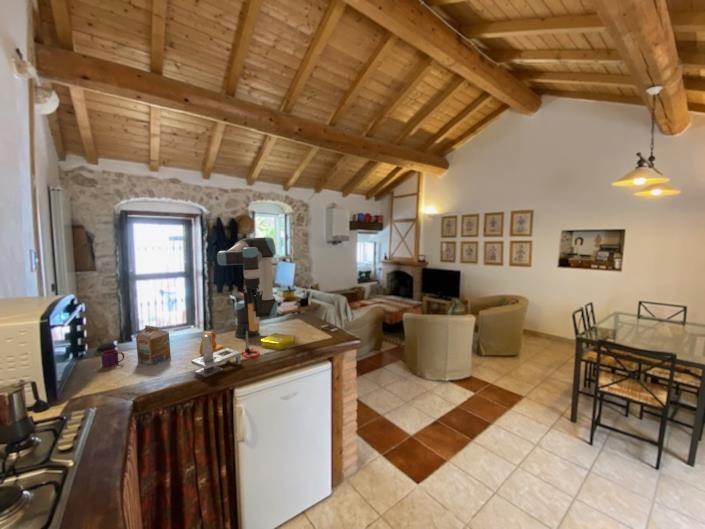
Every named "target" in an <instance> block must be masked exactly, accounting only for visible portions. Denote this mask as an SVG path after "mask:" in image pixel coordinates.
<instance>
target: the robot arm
mask: <svg viewBox="0 0 705 529" xmlns="http://www.w3.org/2000/svg"><path fill="white" fill-rule="evenodd" d="M276 254H277V250H276V244H275V240H274V239H273V238H272V237H268V236H267V237H266V236H265V237H246V238H242V239H241V240H238V241H237V242H235V243H234V245H233V246H232V247H230V248H229V249H227V250H220V251H218V252H217V255H216V260H217V264H218V265H219V266H232V265H233V266H235V265H236V266H237V265H240V266H241V265H242V266H243V267H242V269H243V277H244V279H243V285H244V286H245V288H243V289H242V293H243V300H240V301H238V302H236V304H235V306H236V308H235V310H236V311H235V313H236V327H235V331H234V336H235V337H236V338H238V339H239V338H240V339H243V338H244V339H246V331H248V338H252V337H255V336H258V334H260V333H259V332H260V331H259V330H260V329H259V330H257V331H250V330H249V313H248V304H250V303H253V304H254V310H253V312H254V324H256V323H259V324H260V319H273V318H276V317H277V314H278V308H279V305H278V304H279V303H278V302H279V300H277V299H276V296H275V295H274V289H273V266H272V265H273V262H272V260H273V259H274V258H275V257H274V256H276Z"/></svg>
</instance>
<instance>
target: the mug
mask: <svg viewBox="0 0 705 529" xmlns="http://www.w3.org/2000/svg"><path fill="white" fill-rule="evenodd" d="M119 354H121V355H122V359H121V360H119ZM100 357H101V366H102V368H104V369H105V368H111V367H115V366H117V365H119V363H121V362H123V360H125V354H124V352H123V351H121V352H119V351H118V350H117V349H110V350H105V351H103V352H102V353H100Z"/></svg>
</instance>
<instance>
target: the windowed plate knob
mask: <svg viewBox="0 0 705 529" xmlns="http://www.w3.org/2000/svg"><path fill="white" fill-rule="evenodd" d="M201 341H202V350H203V354H202V356H201V357H198V358H197V357H196V358H195V359H192V360H191V364H192V365H195V366H196V367H200V368H199V369H197V370H195V371H194V373H195V374H197V375H198V376H202V377H203V378H204V377H205V378H207V377H210V376H211V375H214V374H217V373H219V372H221V371H223V370H224V368H222V367H220V366H218V365H219V364H222V363H224V362H227V361H230V360H233V359H235V364H236V365H237V366H238V365H242V362H241V360H242V359H241V355H242V354H241V353H242V352H241V351H237V350H233V349H231V348H227V347H226V348H223V349H222V350H220V351H217V352H214V353H213V348H212V334H205V335H203V334H202V335H201Z"/></svg>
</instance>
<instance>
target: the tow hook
mask: <svg viewBox="0 0 705 529" xmlns="http://www.w3.org/2000/svg"><path fill="white" fill-rule="evenodd" d="M249 345H250V344H249V337H248V331H246V338H245V348H244V351H242V352H241V355H242V356H243V357H244V358H248V359H250V358H251V359H252V358H253V359H254V358H256V357H258V356H259V355H260V351H259V350H255V349H253V348H252V349H251V348H250V347H249ZM250 353H253V354H252V355H248V354H250Z"/></svg>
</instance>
